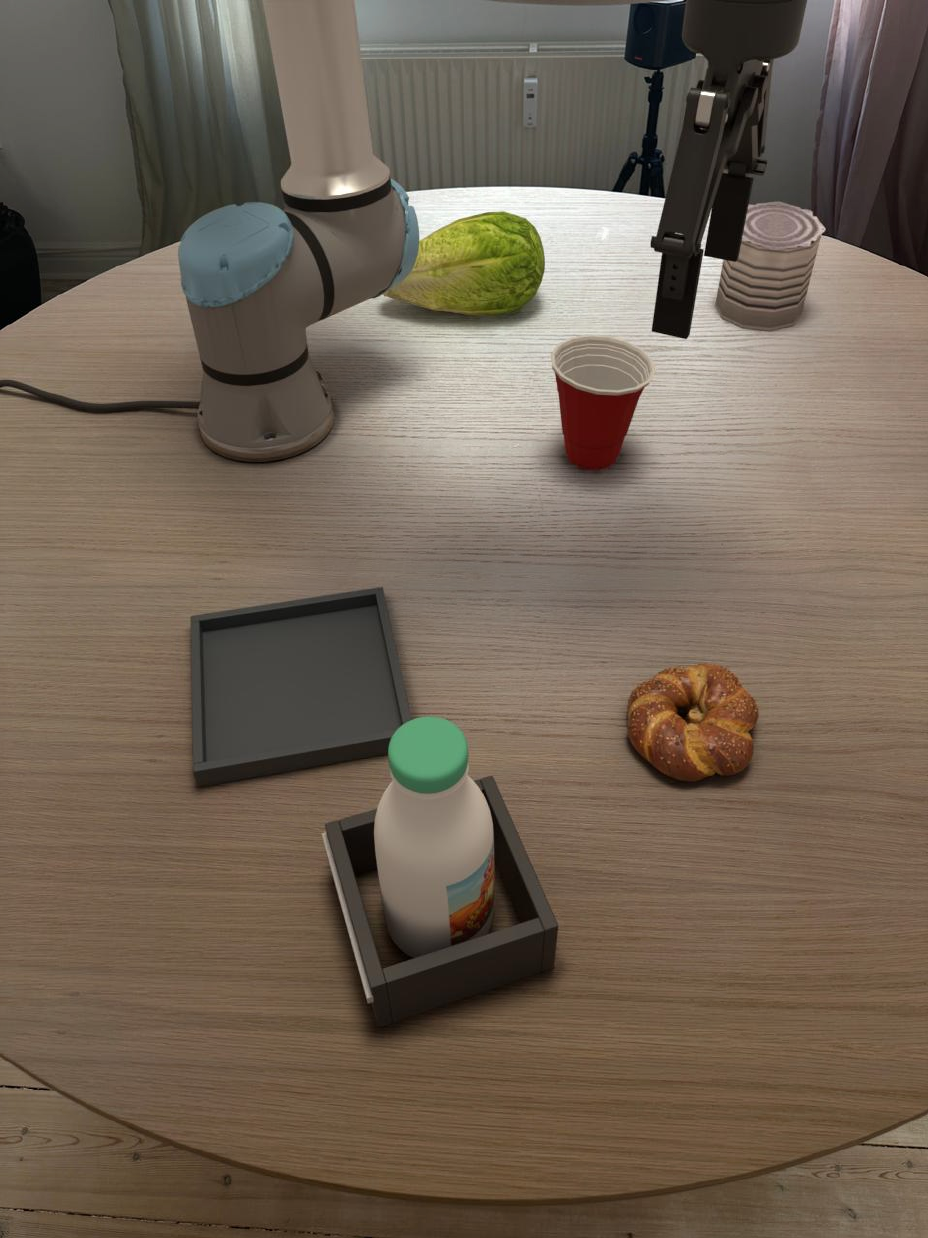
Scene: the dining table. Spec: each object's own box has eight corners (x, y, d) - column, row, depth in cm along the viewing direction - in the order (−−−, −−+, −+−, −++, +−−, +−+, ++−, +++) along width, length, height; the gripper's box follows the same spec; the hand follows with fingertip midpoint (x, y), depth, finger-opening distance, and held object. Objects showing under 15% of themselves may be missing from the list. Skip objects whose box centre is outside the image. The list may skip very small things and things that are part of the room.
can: (813, 302, 132) (836, 213, 123) (784, 339, 125) (806, 248, 117) (733, 282, 136) (749, 194, 128) (701, 317, 130) (716, 227, 121)
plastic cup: (639, 491, 104) (653, 392, 95) (538, 479, 106) (542, 381, 97) (646, 432, 111) (660, 336, 103) (552, 422, 113) (557, 327, 104)
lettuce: (373, 239, 134) (364, 222, 121) (532, 212, 134) (540, 192, 120) (390, 336, 137) (382, 330, 124) (546, 310, 137) (555, 301, 123)
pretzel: (657, 658, 87) (662, 629, 84) (777, 705, 83) (787, 676, 80) (600, 753, 80) (604, 725, 77) (728, 810, 76) (737, 782, 73)
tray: (195, 631, 90) (190, 615, 89) (384, 602, 93) (382, 586, 91) (198, 787, 78) (192, 771, 77) (416, 749, 81) (414, 733, 79)
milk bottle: (414, 987, 66) (394, 823, 52) (368, 895, 71) (339, 723, 57) (513, 937, 69) (520, 767, 55) (462, 851, 74) (457, 675, 59)
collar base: (329, 869, 73) (319, 824, 69) (491, 820, 76) (492, 774, 71) (373, 1030, 64) (365, 991, 60) (554, 968, 67) (559, 926, 63)
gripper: (759, 38, 53) (697, 382, 68) (849, -60, 68) (782, 237, 84) (626, 22, 55) (595, 358, 70) (742, -69, 71) (696, 222, 86)
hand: (697, 293), depth 77 cm, fingers open, 13 cm apart
